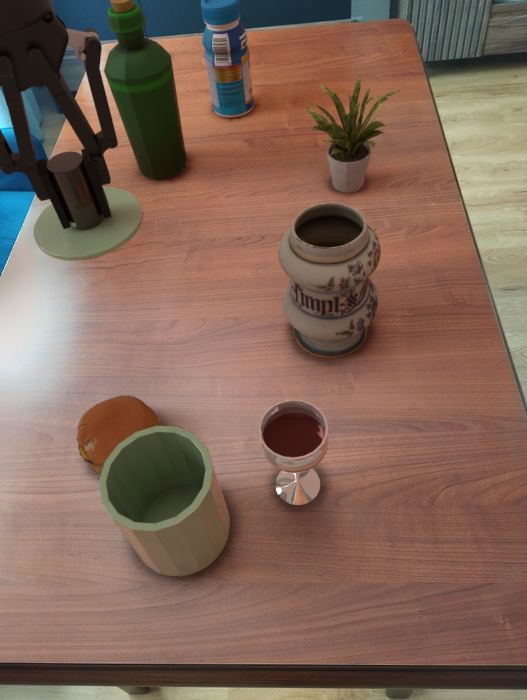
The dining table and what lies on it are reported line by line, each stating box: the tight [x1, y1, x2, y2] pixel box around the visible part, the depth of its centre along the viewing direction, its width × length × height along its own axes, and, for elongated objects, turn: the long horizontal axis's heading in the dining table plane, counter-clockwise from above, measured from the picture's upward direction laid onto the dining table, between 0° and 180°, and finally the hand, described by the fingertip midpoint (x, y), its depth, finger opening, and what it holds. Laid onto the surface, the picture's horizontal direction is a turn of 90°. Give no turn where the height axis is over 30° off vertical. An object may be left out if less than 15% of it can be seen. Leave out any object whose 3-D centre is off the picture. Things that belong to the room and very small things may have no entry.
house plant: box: [305, 74, 403, 193], centre depth 92 cm, size 14×14×16 cm
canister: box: [98, 425, 231, 577], centre depth 58 cm, size 10×10×12 cm
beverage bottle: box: [200, 0, 255, 119], centre depth 108 cm, size 8×8×20 cm
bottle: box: [103, 0, 187, 180], centre depth 95 cm, size 11×11×28 cm
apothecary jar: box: [277, 201, 382, 359], centre depth 71 cm, size 12×12×18 cm
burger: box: [76, 394, 163, 476], centre depth 68 cm, size 10×9×5 cm
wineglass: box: [257, 398, 330, 506], centre depth 60 cm, size 7×7×12 cm
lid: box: [33, 150, 144, 262], centre depth 60 cm, size 12×12×8 cm
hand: (86, 214), depth 61 cm, fingers closed on lid, 4 cm apart
